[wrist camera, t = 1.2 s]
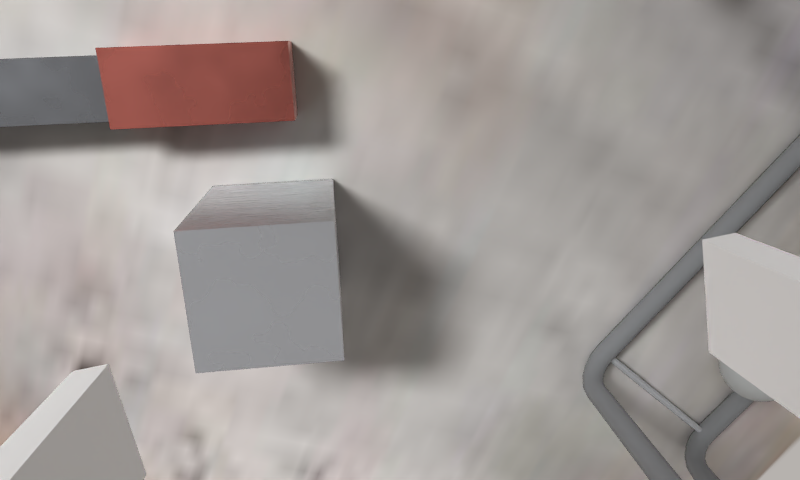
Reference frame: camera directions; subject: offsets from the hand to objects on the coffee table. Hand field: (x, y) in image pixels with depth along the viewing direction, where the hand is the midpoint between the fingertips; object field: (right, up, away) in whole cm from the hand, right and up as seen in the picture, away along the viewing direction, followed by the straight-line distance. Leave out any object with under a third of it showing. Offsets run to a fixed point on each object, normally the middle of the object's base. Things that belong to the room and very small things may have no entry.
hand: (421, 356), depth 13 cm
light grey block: (-7, +3, +18) cm, 20 cm away
